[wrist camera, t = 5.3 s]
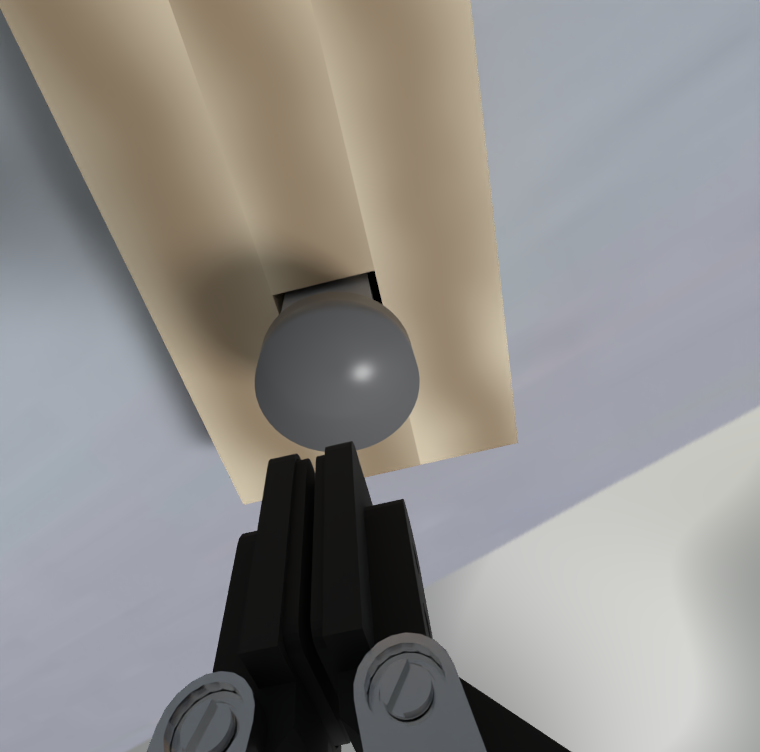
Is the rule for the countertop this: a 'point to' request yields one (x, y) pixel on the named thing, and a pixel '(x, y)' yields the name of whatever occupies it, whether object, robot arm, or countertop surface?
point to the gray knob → (336, 367)
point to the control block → (290, 192)
